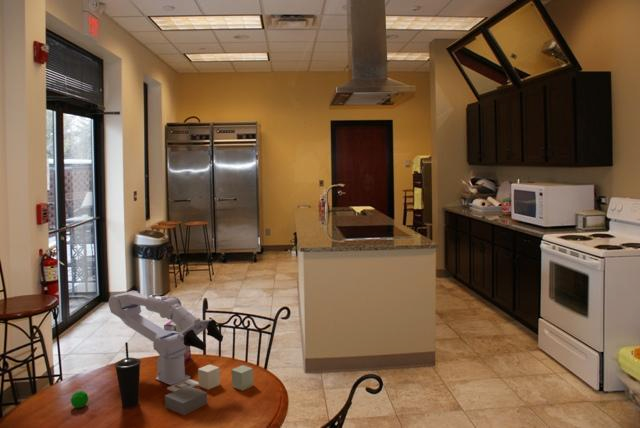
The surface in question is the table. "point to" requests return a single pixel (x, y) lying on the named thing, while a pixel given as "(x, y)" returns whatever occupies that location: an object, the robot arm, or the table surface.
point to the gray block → (185, 400)
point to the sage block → (242, 377)
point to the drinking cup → (128, 380)
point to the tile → (183, 385)
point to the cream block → (209, 376)
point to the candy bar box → (173, 327)
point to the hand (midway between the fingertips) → (213, 343)
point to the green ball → (79, 399)
